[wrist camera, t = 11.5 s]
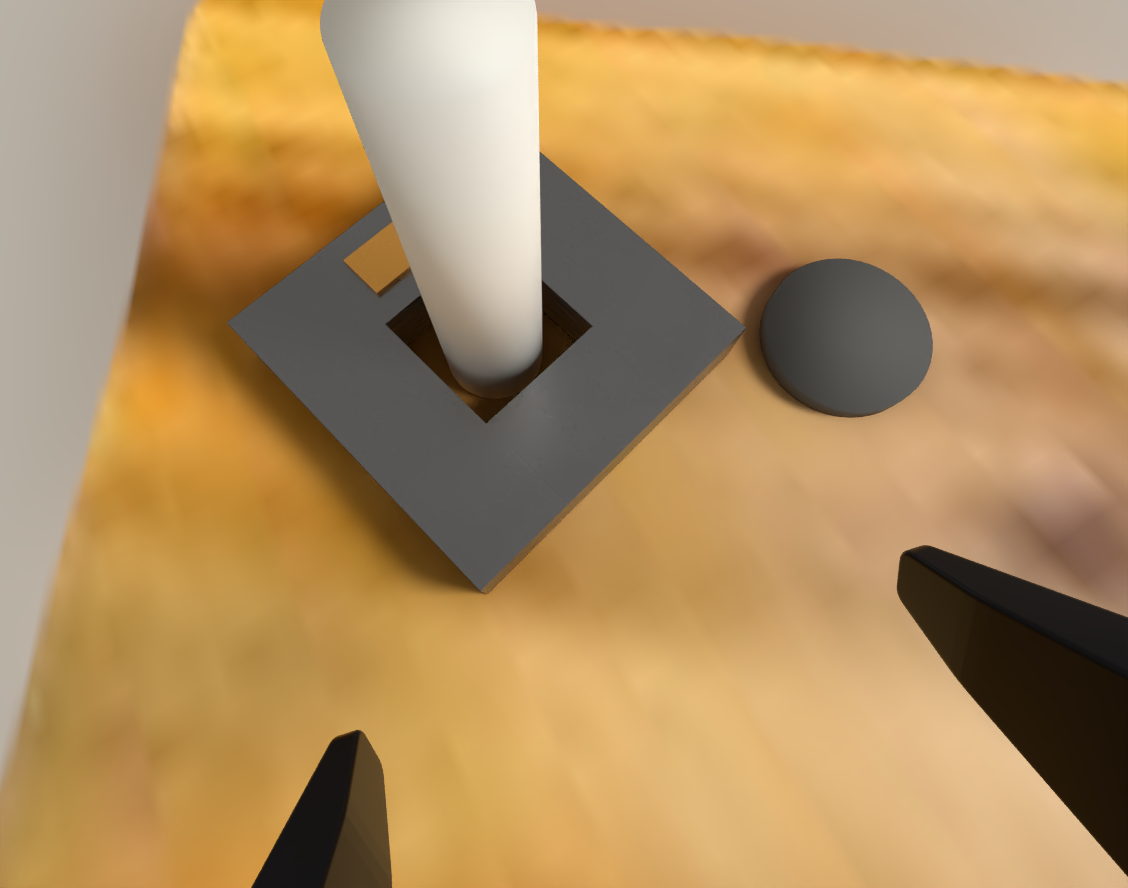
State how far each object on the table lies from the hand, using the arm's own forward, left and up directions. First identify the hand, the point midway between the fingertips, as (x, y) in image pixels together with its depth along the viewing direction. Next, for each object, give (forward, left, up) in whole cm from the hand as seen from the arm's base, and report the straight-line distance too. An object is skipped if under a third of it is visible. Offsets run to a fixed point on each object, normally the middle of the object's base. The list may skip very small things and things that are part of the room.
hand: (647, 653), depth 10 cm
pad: (+16, +1, -14) cm, 21 cm away
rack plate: (+5, +11, -14) cm, 18 cm away
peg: (+5, +11, -14) cm, 18 cm away
